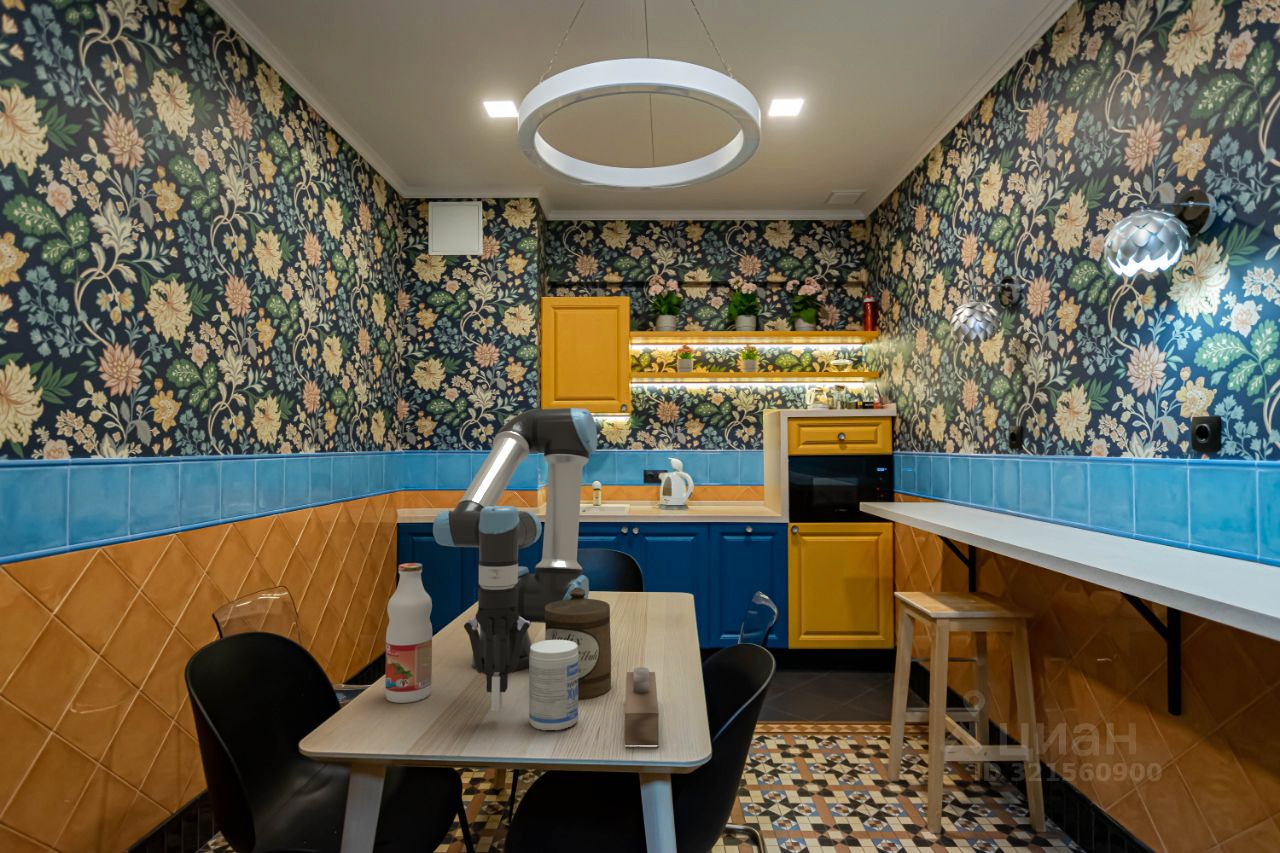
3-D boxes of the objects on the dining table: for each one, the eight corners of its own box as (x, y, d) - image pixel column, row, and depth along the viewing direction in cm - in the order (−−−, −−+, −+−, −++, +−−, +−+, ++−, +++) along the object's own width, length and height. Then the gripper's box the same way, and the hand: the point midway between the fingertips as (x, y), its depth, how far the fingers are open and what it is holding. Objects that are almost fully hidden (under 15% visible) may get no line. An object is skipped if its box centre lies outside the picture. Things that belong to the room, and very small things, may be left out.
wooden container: (532, 694, 142) (532, 592, 143) (562, 673, 156) (563, 579, 157) (594, 703, 137) (595, 597, 138) (620, 680, 151) (621, 584, 152)
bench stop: (624, 747, 116) (624, 690, 117) (626, 700, 138) (626, 652, 139) (658, 747, 116) (658, 690, 117) (655, 700, 138) (655, 652, 139)
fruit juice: (437, 697, 140) (439, 565, 141) (391, 707, 134) (393, 570, 136) (423, 685, 148) (425, 559, 149) (380, 693, 142) (382, 563, 143)
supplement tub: (579, 731, 123) (579, 652, 124) (527, 734, 122) (528, 654, 122) (577, 711, 133) (577, 637, 133) (529, 713, 131) (530, 639, 132)
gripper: (459, 589, 124) (457, 716, 123) (528, 589, 124) (527, 716, 123) (469, 582, 132) (468, 701, 131) (534, 582, 132) (533, 701, 131)
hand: (496, 708), depth 127 cm, fingers closed
